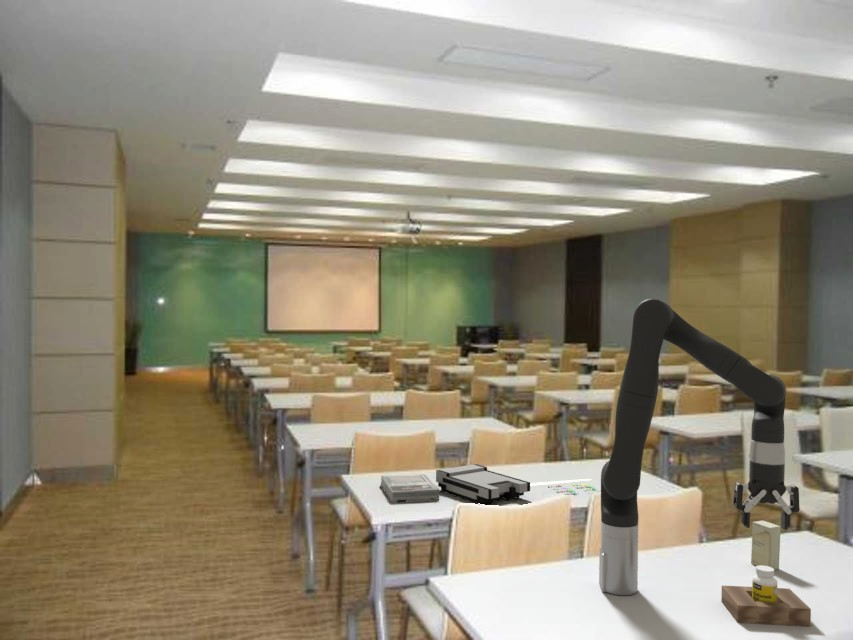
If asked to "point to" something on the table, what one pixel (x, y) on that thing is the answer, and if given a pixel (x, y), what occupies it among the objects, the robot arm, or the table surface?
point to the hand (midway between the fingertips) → (765, 528)
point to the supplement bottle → (764, 585)
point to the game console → (480, 484)
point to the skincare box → (765, 544)
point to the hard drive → (409, 487)
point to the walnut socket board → (766, 607)
